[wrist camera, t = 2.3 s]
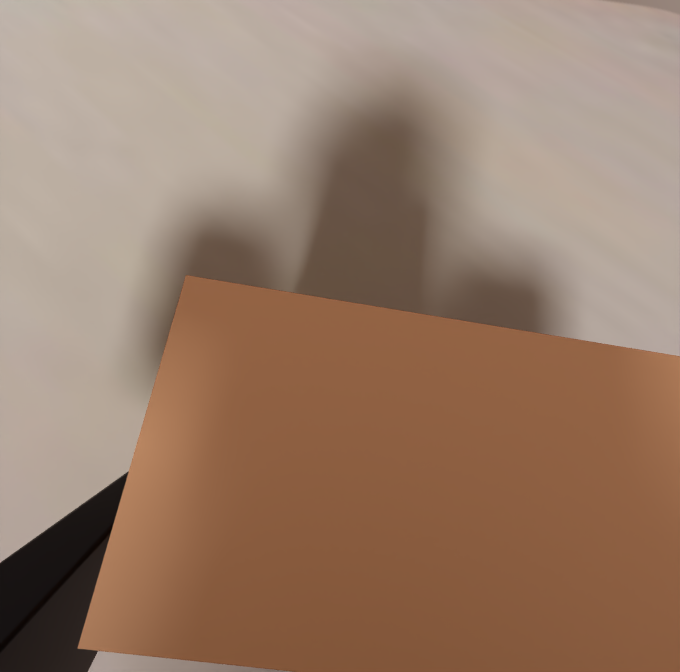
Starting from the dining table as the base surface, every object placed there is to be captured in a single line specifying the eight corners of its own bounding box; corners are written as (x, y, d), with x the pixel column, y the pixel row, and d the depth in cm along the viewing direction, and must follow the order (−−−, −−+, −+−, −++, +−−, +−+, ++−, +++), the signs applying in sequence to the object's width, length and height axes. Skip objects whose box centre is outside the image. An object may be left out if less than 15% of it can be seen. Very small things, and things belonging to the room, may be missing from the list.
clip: (419, 438, 18) (695, 358, 6) (413, 537, 16) (760, 721, 4) (261, 415, 17) (186, 275, 5) (241, 515, 16) (77, 648, 4)
